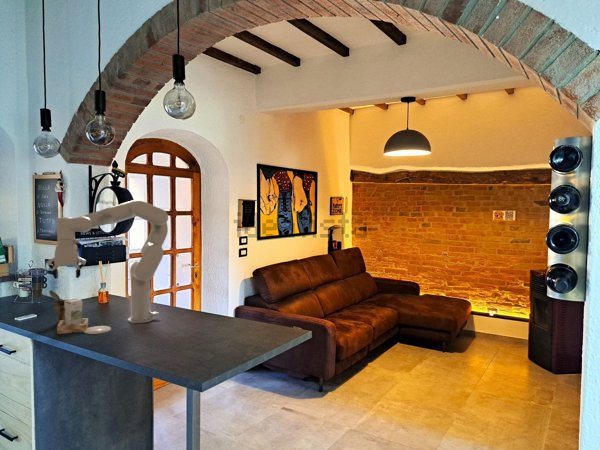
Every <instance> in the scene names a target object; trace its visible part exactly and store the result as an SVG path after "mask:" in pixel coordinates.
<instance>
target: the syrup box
mask: <svg viewBox="0 0 600 450" xmlns="http://www.w3.org/2000/svg"><path fill="white" fill-rule="evenodd" d="M64 300H65V301H64V325H75V324H82V318H83V300H82V299H80V298H72V299H70V300H69V299H64Z"/></svg>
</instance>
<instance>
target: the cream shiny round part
mask: <svg viewBox="0 0 600 450" xmlns="http://www.w3.org/2000/svg"><path fill="white" fill-rule="evenodd" d="M111 330H112V327H111V326H108V325H96V326H95V325H94V326H90V327H89V326H88V328H87V330H84V332H83V334H84V333H85V334H87V335H99V334H105V333H108V332H111Z"/></svg>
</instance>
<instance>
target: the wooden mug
mask: <svg viewBox="0 0 600 450" xmlns="http://www.w3.org/2000/svg"><path fill="white" fill-rule="evenodd" d="M49 295H50V296H51V297H52V299H54V300H55V302H54V312H55V313H56V314H57V316H58V317H57V322H56V324H57V325H58V324H59V322H60V320H64V301H65V300H66V299H64V300H63V299H62V300H61V298H60V296H59V295H58V293H56V292H55V291H53V290H52V289H51V290H49ZM68 300H70V299H68Z"/></svg>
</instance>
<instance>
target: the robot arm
mask: <svg viewBox="0 0 600 450" xmlns="http://www.w3.org/2000/svg"><path fill="white" fill-rule="evenodd" d="M136 217H138V218H140V219H142V220H145V221H147V222H149V224H150V226H151V227H150V232H149V234H148V236H147V238H146V240H145V241H144V244H143V245H142V247H141V250H140V253H141V258H140V260H136V261H134V262H132V264H131V266H130V268H129V269H130V270H129V275H130V317H128V318H127V322H128V323H130V324H145V323H149V322H152V321H153V320H154V317H159V316H160V312H157V311H153V312H152V311H151V279H152V278H153V276H154V275H155V274H156V271H157V270H158V267H159V265H160V264H161V261H162V259H163V257H164V249H163V245H164V243H165V241H166V238H167V235H168V232H169V230H168V229H169V228H168V227H169V226H168V220H169V215H168V212H167V211H166V210H164V209H162V208H160V207H158V206H156V205H154V204H151V203H148V202H147V201H144V200H142V199H133V200H130V201H126V202H122V203H120V204H117V205H112V206H109V207H106V208H104V209H101V210H97V211H95V212H90V213H88V214H85V215H80V216H77V217H71V216H70V217H68V216H67V217H65V216H62V217H58V218H57V220H56V231H57V233H56V234H57V235H56V236H57V237H56V239H57V242H56V243H57V245H56V246H55V249H54V257H52V258H51V259H49V260H47V261H46V264H47V266H48V267H49V268H50V269H51V270H52V276H53V279H54V280H55V279H58V278H59V271H58V268H60V267H74V268H75V269H76V270H75V278H76V279H79V278H80V276H81V269H82V268H83V267H84V266H85V265H86V263H87V259H84V258H82V257H80V255H79V249H78V245H77V244H78V243H79V240H77V239H76V233H77V232H80V233H86V232H90V231H91V229H93V228H94V229H95V228H98V227H102V226H105V225H113V224H117V223H120V222H122V221H126V220H129V219H133V218H136ZM52 262H53V263H54V265H53V264H52ZM80 262H81V264H80ZM79 264H80V265H79Z"/></svg>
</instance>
